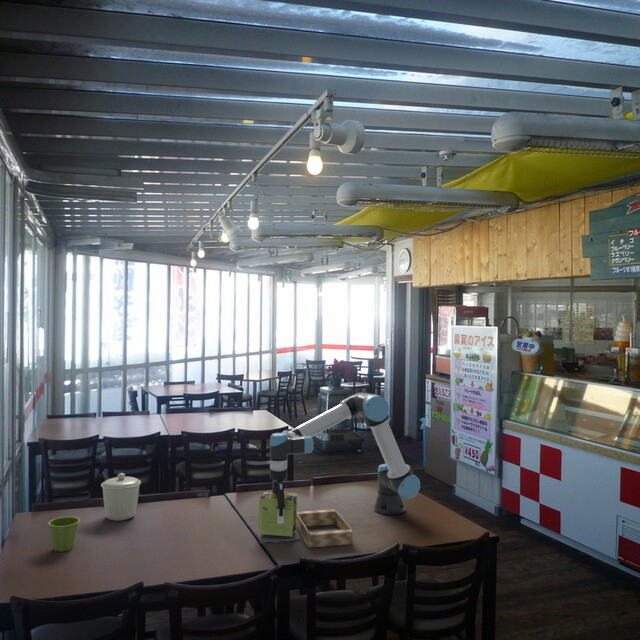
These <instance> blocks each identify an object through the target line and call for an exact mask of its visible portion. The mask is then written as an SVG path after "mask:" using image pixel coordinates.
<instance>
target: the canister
mask: <svg viewBox="0 0 640 640" xmlns="http://www.w3.org/2000/svg"><path fill="white" fill-rule="evenodd" d="M141 484H142V481H141V480H140V479H138V478H137V477H133V476H126V474H125V473H123V472H119V473H118V474H117V476H115V477H112V478H111V477H110V478H108V479H106V480H104V481H103V482H102V483H101V484H100V486H101V488H102V495H103V497H102V498H103V505H104V513H105V517H106V518H107V519H108V520H110V521H114V522H115V521H118V522H120V521H126V520H129V519H133V517H134V516H135V515H136V512H137V506H138V501H139V500H138V499H139V491H140V485H141Z"/></svg>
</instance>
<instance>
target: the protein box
mask: <svg viewBox="0 0 640 640" xmlns="http://www.w3.org/2000/svg"><path fill="white" fill-rule="evenodd" d="M258 500H259V503H258V525H257V526H258V527H257V532H258V534H265V535H278V536H291V537H292V536H293V534H294V532H295V531H296V530H297V527H296V514H297V512H298V511H297V508H298V507H297V506H298V493H288V492H287V493H286V492H284V500H285V508H284V523H282V524H277V509H276V508H277V507H278V502H277V494H276V493H273V492H272V491H264V492H263V494H261V496H260V497H259V499H258ZM280 506H281V505H280Z"/></svg>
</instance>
